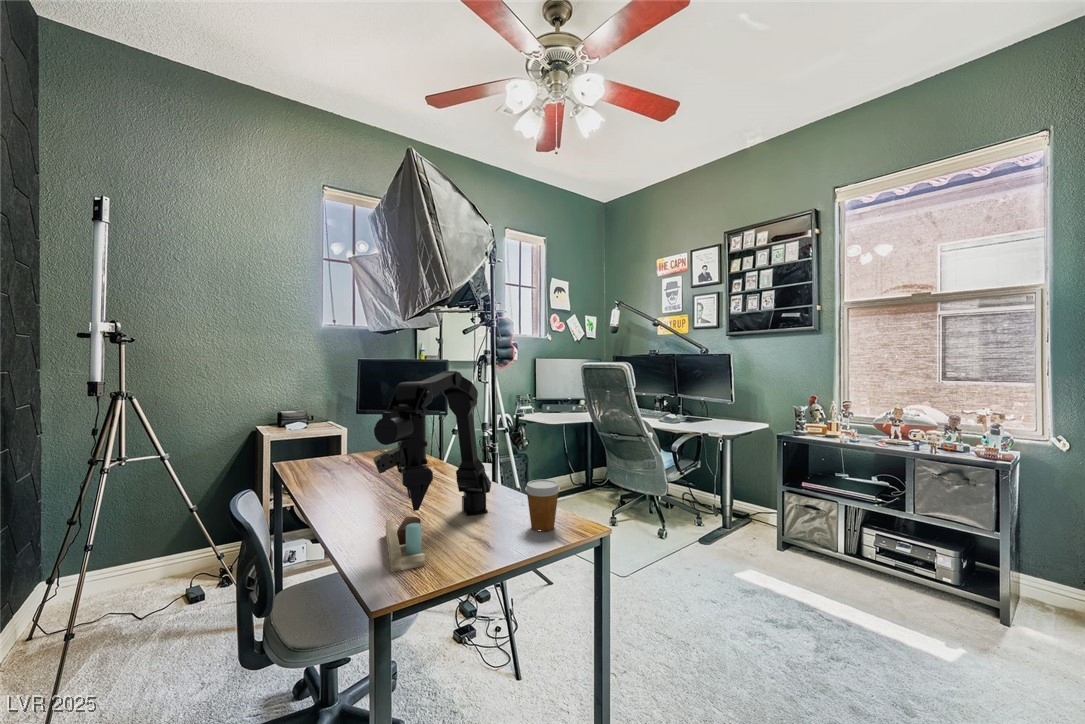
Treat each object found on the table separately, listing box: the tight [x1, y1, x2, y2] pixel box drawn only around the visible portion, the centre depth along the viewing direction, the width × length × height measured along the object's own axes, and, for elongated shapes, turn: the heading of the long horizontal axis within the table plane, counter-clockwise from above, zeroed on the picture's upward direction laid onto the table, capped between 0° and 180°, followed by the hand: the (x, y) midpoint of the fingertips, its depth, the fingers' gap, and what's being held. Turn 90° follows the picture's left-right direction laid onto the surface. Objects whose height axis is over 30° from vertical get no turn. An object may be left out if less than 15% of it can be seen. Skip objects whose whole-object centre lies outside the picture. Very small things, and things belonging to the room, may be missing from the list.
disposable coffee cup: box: [524, 479, 561, 532], centre depth 120 cm, size 10×10×12 cm
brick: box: [396, 516, 422, 545], centre depth 113 cm, size 11×4×5 cm, turn 5°
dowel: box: [406, 523, 423, 556], centre depth 101 cm, size 4×4×8 cm
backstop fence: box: [385, 518, 426, 573], centre depth 107 cm, size 7×22×4 cm, turn 23°
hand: (413, 504), depth 101 cm, fingers open, 9 cm apart
